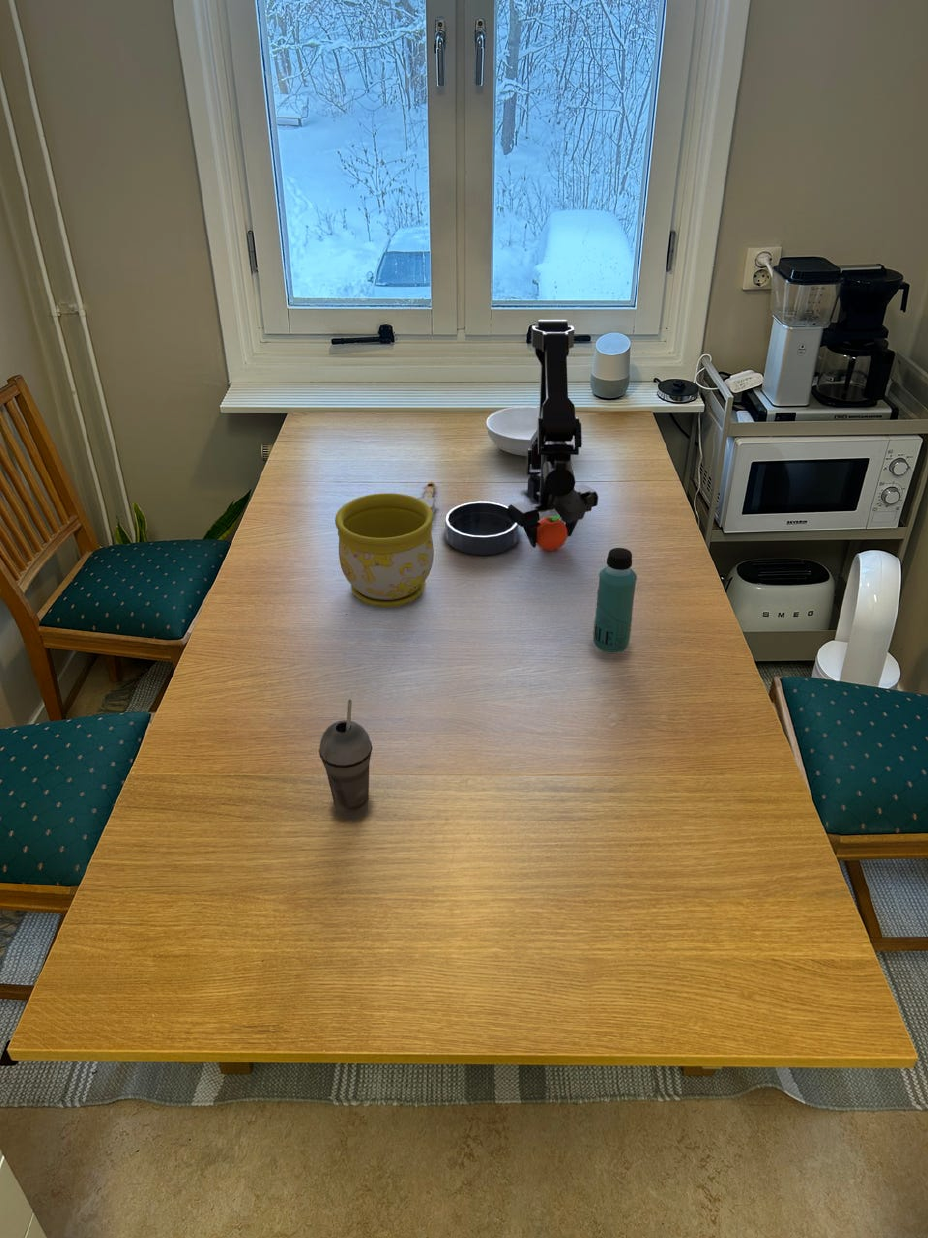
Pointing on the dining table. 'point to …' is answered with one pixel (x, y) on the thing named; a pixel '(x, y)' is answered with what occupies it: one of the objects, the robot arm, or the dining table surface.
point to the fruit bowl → (480, 528)
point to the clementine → (551, 533)
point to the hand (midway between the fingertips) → (551, 541)
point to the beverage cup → (347, 765)
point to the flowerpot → (386, 547)
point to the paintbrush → (429, 496)
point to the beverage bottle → (615, 602)
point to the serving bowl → (513, 428)
